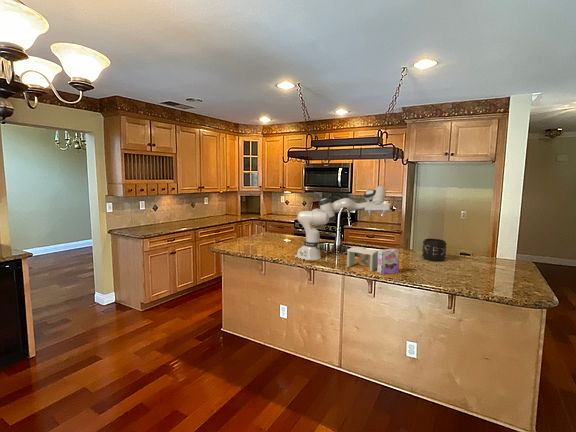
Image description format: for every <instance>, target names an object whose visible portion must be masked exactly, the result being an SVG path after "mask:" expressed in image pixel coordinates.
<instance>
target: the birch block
mask: <svg viewBox="0 0 576 432" xmlns="http://www.w3.org/2000/svg"><path fill="white" fill-rule="evenodd" d="M358 256H359V259H358V260H359V261H358V265H359V266H364V267H370V255H369V254H363V253H359V255H358Z"/></svg>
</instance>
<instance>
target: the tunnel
mask: <svg viewBox="0 0 576 432" xmlns="http://www.w3.org/2000/svg"><path fill="white" fill-rule="evenodd" d="M346 252H347V257H346V259H347V260H346V267H347V268H350V267H353V266H354V265H355V263H356V253H357V254H362V253H363V254H369V255H370V266H369V272H373V271H375V270H377V266H378V250H376V249H375V250H374V249H370V248H369V249H368V248H362V247H354V246H352V247H350V248H347V249H346Z"/></svg>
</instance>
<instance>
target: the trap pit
mask: <svg viewBox="0 0 576 432" xmlns="http://www.w3.org/2000/svg"><path fill="white" fill-rule="evenodd" d="M350 270H353V271H358V272H359V271H360V272H365V269H361V268H360V269H359V268H355V267H351V268H350Z"/></svg>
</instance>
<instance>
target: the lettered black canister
mask: <svg viewBox="0 0 576 432" xmlns="http://www.w3.org/2000/svg"><path fill="white" fill-rule="evenodd" d="M446 254H447V243H446V241H445V240H444V239H440V238H424V240H423V241H422V254H421V257H422V258H423V259H424V260H425V261H429V262H439V263H440V262H443V261H445V259H446Z"/></svg>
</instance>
